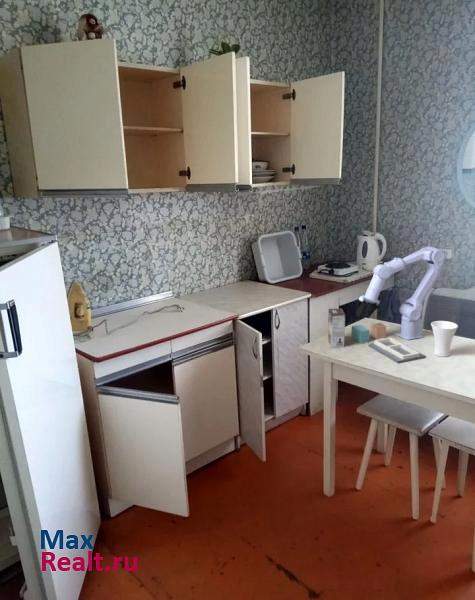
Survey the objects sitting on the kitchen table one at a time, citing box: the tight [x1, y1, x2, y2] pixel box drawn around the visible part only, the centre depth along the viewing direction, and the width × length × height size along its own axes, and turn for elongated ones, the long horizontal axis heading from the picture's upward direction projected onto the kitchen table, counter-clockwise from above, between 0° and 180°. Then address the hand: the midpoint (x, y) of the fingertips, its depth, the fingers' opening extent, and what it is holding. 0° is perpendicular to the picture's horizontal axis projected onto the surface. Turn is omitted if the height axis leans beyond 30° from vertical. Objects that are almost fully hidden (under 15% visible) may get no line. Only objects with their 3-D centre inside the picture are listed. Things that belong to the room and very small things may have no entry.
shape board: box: [368, 337, 427, 364], centre depth 205 cm, size 14×21×2 cm, turn 19°
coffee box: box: [327, 308, 346, 348], centre depth 215 cm, size 9×6×16 cm
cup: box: [430, 320, 459, 358], centre depth 199 cm, size 10×10×14 cm
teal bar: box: [350, 324, 370, 344], centre depth 220 cm, size 4×8×6 cm, turn 19°
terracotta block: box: [369, 322, 387, 340], centre depth 223 cm, size 5×5×6 cm
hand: (362, 316), depth 216 cm, fingers open, 7 cm apart
